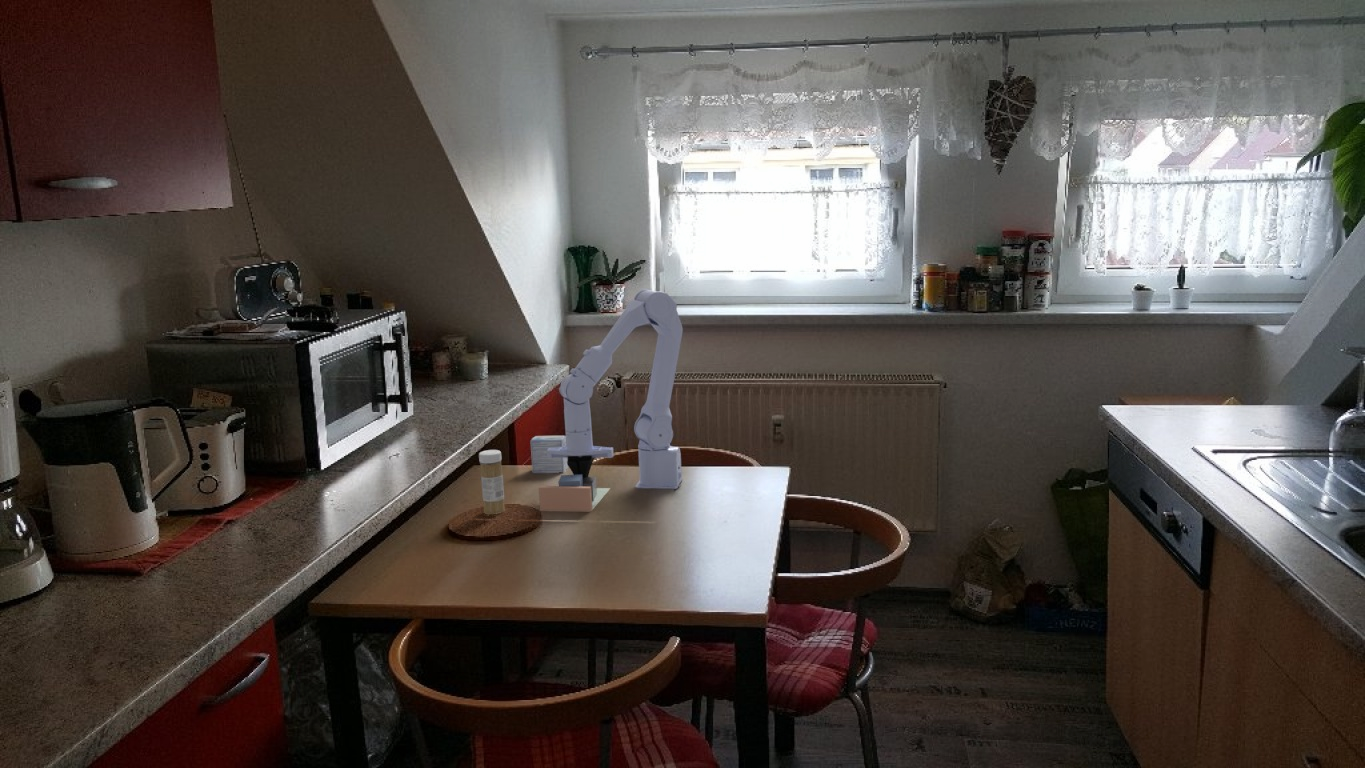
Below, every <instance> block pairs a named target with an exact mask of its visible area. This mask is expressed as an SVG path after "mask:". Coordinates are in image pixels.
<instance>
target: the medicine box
mask: <svg viewBox="0 0 1365 768" xmlns="http://www.w3.org/2000/svg"><path fill="white" fill-rule="evenodd" d="M529 442H530V452H531V454H530V455H531V456H530V457H531V467H532V468H531V471H532V474H560V473H559V472H565V473H566V471H567V470H568V469H569V466H568V465H567V461H568V458H552V459H548V458H547V450H548V449H549V448H559V447H567V444H566V435H535V436H534V437H532V438H531V440H530V441H529ZM567 468H568V469H567ZM566 469H567V470H566Z"/></svg>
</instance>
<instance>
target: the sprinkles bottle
mask: <svg viewBox="0 0 1365 768" xmlns="http://www.w3.org/2000/svg"><path fill="white" fill-rule="evenodd" d="M478 459H479V464H480V475H481V476H480V479H481V491H482V500H483V502H482V503H483V514H484V513H485V514H497V513H501V512H503V511H505V512H506V509H505V491H504V489H505V488H504V476H503V469H502V452H501V451H500V449H499V450H498V449H488V450H483V451H480V452H479V453H478ZM485 514H484V515H485Z"/></svg>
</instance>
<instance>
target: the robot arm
mask: <svg viewBox="0 0 1365 768" xmlns="http://www.w3.org/2000/svg"><path fill="white" fill-rule="evenodd" d="M677 307H678V304H677V302H676V301H675V300H674V299H673V298H672V297H671V296H670V295H669V294H668V293H667V292H664V291H655V290H652V289H649V288H645V289H642V290H640V291H638V292H637V293H636V294H635V296H634V299H631V300H630V301H629V302H628V303H627V305H626V306H625V309H624V310H623V312H622V313H621V314H620V316H619V318H618V319H617V320H616V322H615V323H614V325H613V326H612V327H611V328H610V330H609V332H608V333H607V334H606V336H605V337H604V339H603V340H602V342H601V343H600V345H596V346H591V347H590V348H589V349H587V348H586V349H585V350H584V351H583V352H582V355H583V357H582V358H581V360H580V361H579V362H578V364H577V365H576V366H575V368H573V367H572V368H571V369H570V371H569V372H570V374H569V375H566V376H564V377H563V379H561V382H560V386H559V387H558V391H559V394H560V395H561V396H562V397H563V406H564V407H563V408H564V409H563V414H564V417H563V418H564V429H565V436H566V447H559V448H549V449H548V450H547V458H548V459H552V458H567V465H568V469H570V471H571V472H572V475H579V474H582V478H584V477H589V475H590V470H591V468H592V465H593V463H594V460H595V458H608V459H612V458H614V456H615V455H614V447H611V446H610V447H609V446H608V447H607V446H597V445H593V431H592V430H593V428H592V416H591V407H590V399H591V398H592V396H593V394H594V386H595V385H597V383H598V382H599V381H600V379H601V378H602V377H603V376H604V374H605V373H606V372H607V370H608V369H609V368H610V366H611V365H612V364H613V354H614V353H615V352H616V351H617V349H618V348H619V347H621V346H620V345H621V344H623V342H624V341H625V340H626V338H627V337H629V335H630V334H631V333H632V331H633V330H634V329H636V328H637V327H641V326H644V325H649V324H651V326H652V327H653V329H654V331H656V332H657V339H656V345H655V351H654V357H653V362H652V363H653V364H652V368H651V374H650V380H649V385H648V390H647V397H646V401H645V403H644V405H642V407H641V409H640V413H639V416H638V417H637V419H636V421H635V423H634V427H633V430H634V434H635V436H636V437H637V439H638V440H639V442H638V445H637V446H638V448H637V450H638V469H639V470H638V471H639V481H638V482H637V483H636V485H635V486H634V487H635V488H636V489H673V490H677V489H678V487H679V486H680V485H681V482H682V481H683V478H682V454H681V449H680V447H679V446H673V445H671V443H672V442H673V441H672V440H673V437H674V430H673V427H672V421H673V415H672V412H671V409H670V405H671V400H672V393H673V389H674V388H673V387H674V384H675V383H674V382H675V377H676V372H677V366H678V360H679V354H680V349H681V344H682V337H683V331H684V328H683V325H682V322H681V321H682V320H681V319H680V316H679V313H678V310H677V309H678V308H677Z"/></svg>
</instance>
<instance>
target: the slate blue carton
mask: <svg viewBox="0 0 1365 768" xmlns="http://www.w3.org/2000/svg"><path fill="white" fill-rule="evenodd" d="M558 486H583V478H582V474H579V475H573V474H562V475H560V477H559V479H558Z"/></svg>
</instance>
